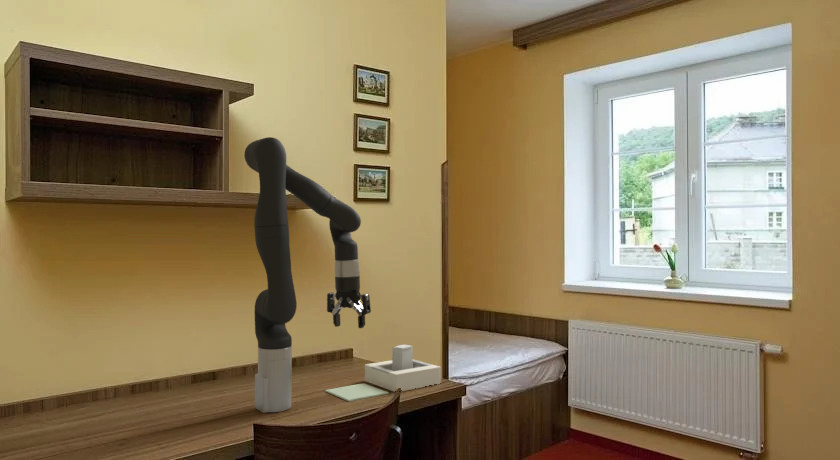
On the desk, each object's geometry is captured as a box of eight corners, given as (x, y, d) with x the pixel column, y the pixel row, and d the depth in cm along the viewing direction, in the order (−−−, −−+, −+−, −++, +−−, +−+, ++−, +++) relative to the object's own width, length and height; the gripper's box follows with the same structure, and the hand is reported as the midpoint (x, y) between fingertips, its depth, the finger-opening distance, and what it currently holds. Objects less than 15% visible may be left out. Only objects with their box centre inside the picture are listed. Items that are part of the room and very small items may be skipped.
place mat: (348, 401, 174) (348, 399, 174) (325, 391, 185) (325, 389, 185) (388, 393, 183) (388, 392, 183) (363, 384, 194) (363, 383, 194)
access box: (396, 392, 185) (396, 374, 185) (364, 380, 199) (364, 364, 199) (440, 383, 196) (440, 366, 196) (408, 373, 210) (408, 357, 210)
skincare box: (401, 385, 194) (401, 348, 194) (391, 383, 196) (391, 346, 196) (413, 381, 198) (413, 345, 198) (403, 379, 201) (403, 344, 201)
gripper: (320, 275, 182) (323, 328, 183) (360, 276, 176) (363, 331, 177) (334, 272, 189) (336, 323, 190) (373, 273, 183) (375, 325, 184)
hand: (349, 327), depth 183 cm, fingers open, 8 cm apart
